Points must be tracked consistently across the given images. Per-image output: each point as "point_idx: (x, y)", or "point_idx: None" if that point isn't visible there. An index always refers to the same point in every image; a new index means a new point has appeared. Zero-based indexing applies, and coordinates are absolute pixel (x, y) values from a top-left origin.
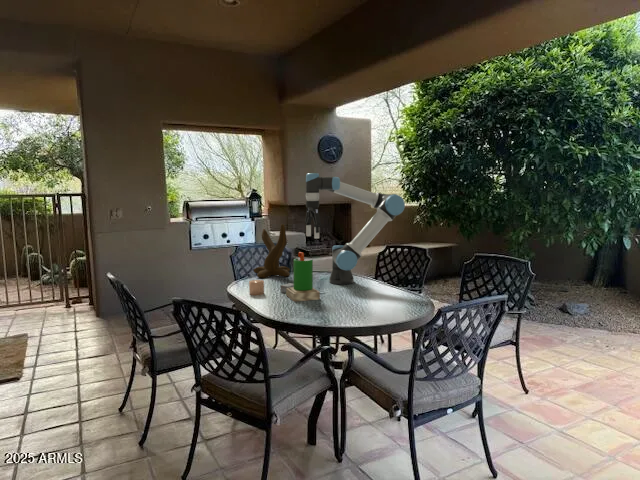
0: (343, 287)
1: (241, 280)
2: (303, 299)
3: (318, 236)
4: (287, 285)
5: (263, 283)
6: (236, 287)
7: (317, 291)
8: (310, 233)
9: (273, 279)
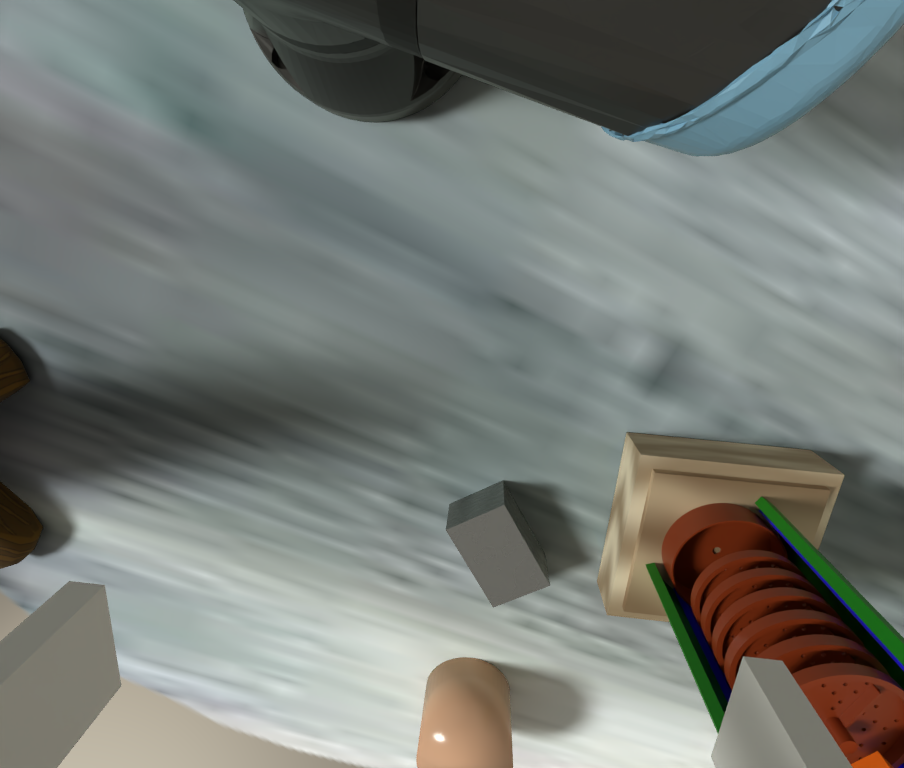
0: None
1: None
2: None
3: (810, 736)
4: (514, 570)
5: (494, 726)
6: (268, 724)
7: (825, 484)
8: (46, 660)
9: (95, 480)
